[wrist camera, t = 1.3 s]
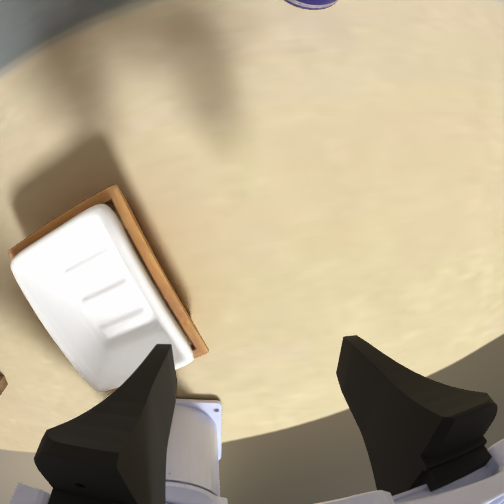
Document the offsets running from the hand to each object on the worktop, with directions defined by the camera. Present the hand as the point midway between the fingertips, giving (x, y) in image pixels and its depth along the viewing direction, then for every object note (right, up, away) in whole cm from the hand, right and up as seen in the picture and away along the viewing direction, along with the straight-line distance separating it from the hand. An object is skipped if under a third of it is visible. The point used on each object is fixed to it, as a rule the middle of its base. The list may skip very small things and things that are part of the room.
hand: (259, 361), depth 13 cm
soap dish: (-10, +2, +10) cm, 14 cm away
